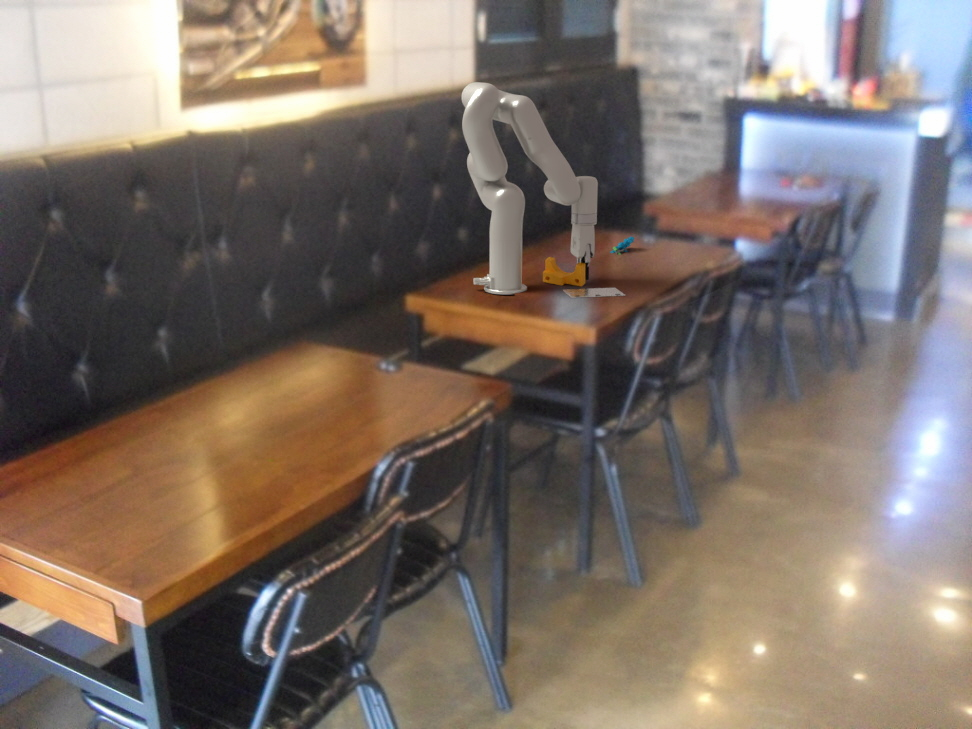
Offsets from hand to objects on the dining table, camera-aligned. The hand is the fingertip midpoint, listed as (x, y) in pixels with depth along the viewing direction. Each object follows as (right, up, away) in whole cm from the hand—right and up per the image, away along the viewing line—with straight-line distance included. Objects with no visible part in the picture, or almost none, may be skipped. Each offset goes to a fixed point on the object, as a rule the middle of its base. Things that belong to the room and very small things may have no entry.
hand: (582, 279), depth 316 cm
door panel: (+2, -5, -12) cm, 13 cm away
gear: (+15, +9, +41) cm, 45 cm away
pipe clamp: (-6, -1, -1) cm, 6 cm away
